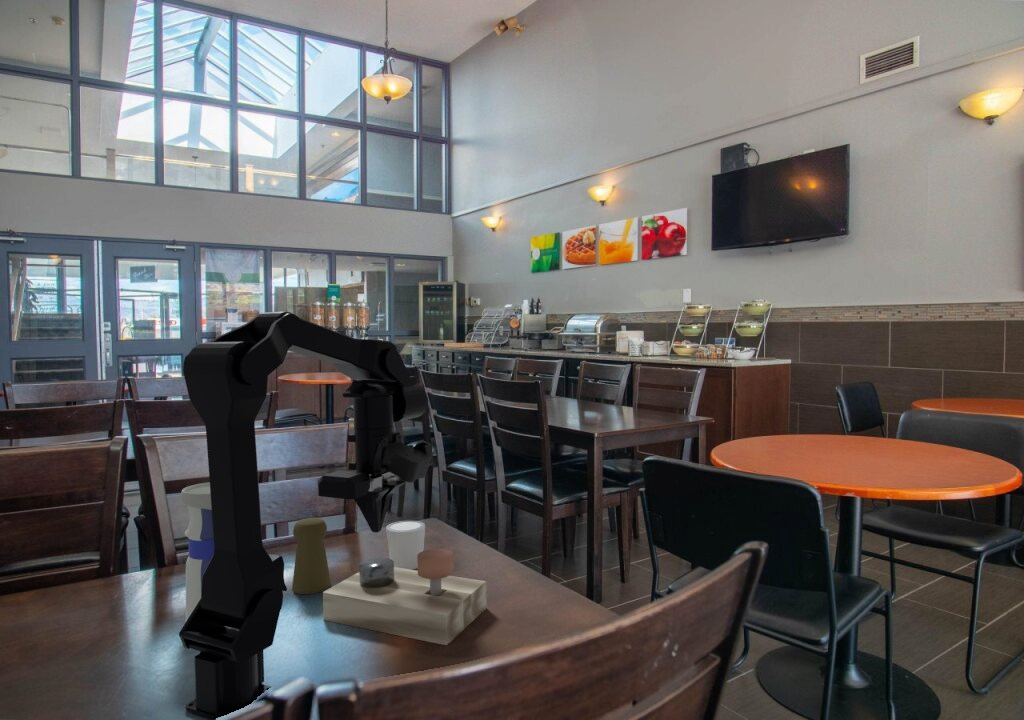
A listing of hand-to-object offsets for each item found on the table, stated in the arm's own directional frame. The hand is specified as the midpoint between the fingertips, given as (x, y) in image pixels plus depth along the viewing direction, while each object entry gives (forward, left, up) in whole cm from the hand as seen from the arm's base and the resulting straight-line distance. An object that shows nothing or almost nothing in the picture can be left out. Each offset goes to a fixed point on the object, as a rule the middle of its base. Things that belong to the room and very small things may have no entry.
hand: (376, 531), depth 92 cm
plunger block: (0, -5, -12) cm, 13 cm away
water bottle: (-12, +19, -12) cm, 25 cm away
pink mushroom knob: (0, -10, -8) cm, 13 cm away
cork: (+3, +15, -12) cm, 19 cm away
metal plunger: (0, 0, -11) cm, 11 cm away
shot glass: (+17, +6, -12) cm, 21 cm away
